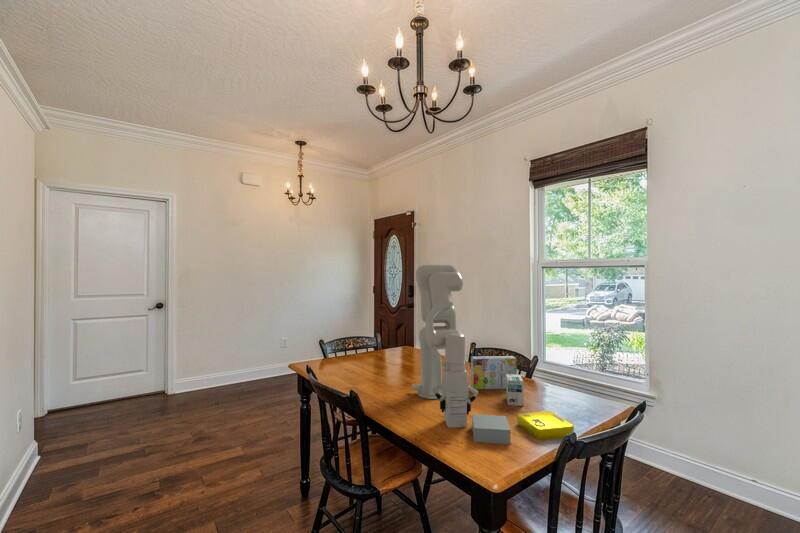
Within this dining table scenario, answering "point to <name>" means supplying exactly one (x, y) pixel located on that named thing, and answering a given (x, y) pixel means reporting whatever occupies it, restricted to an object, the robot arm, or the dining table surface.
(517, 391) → the light bulb box
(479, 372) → the snack box
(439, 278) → the robot arm
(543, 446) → the dining table surface
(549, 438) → the element tile
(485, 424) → the grey block
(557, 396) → the dining table surface
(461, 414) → the supplement box
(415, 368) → the dining table surface
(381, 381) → the dining table surface
